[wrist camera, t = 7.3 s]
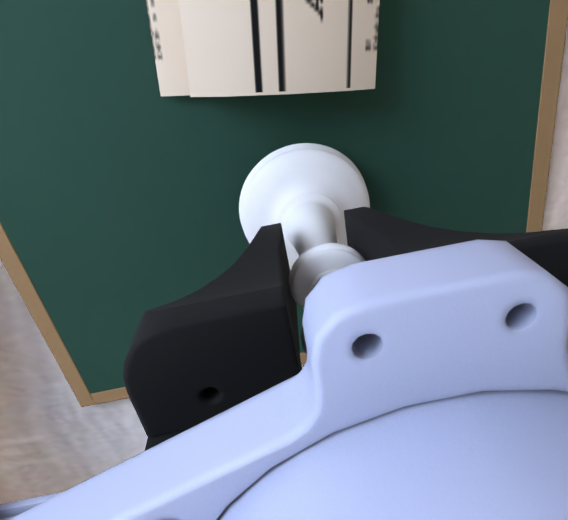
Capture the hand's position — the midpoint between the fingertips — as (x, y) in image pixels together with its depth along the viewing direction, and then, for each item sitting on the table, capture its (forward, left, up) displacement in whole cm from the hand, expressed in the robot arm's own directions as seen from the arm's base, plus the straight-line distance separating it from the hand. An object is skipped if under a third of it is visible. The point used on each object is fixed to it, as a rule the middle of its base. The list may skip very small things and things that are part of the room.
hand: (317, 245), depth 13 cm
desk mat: (0, +1, -4) cm, 4 cm away
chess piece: (0, 0, -4) cm, 4 cm away
